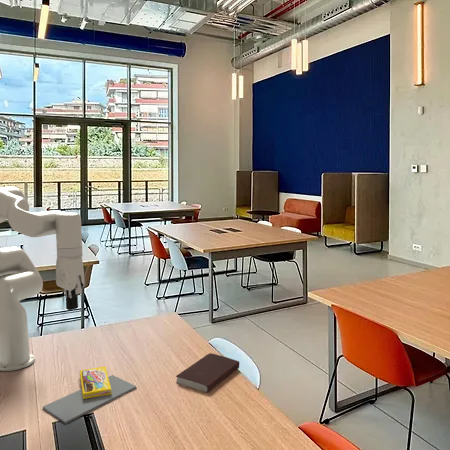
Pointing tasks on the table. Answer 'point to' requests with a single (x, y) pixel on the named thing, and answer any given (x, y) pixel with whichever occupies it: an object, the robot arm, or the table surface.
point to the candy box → (95, 382)
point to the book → (207, 372)
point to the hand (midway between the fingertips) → (72, 308)
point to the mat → (86, 401)
